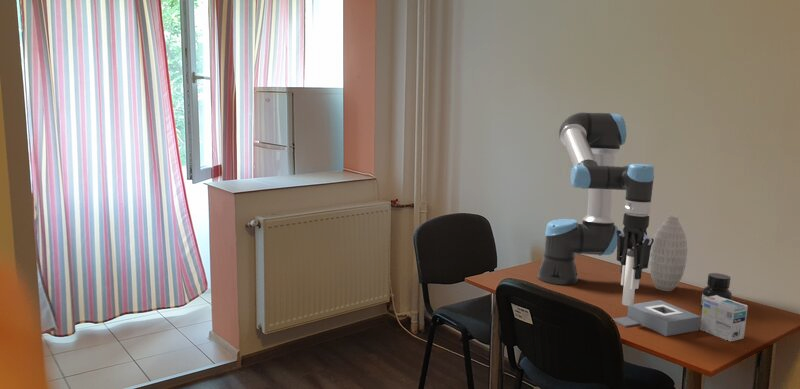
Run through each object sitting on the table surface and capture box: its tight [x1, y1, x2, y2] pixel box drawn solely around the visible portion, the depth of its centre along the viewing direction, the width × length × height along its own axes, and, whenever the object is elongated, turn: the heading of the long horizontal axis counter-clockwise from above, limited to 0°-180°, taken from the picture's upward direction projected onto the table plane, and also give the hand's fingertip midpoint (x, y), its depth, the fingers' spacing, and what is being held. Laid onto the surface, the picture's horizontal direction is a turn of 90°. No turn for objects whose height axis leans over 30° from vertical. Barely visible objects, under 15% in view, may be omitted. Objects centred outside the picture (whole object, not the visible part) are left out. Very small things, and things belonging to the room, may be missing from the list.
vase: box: [648, 214, 688, 292], centre depth 232 cm, size 13×13×28 cm
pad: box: [612, 316, 641, 328], centre depth 198 cm, size 6×6×1 cm
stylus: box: [621, 247, 636, 307], centre depth 196 cm, size 4×4×18 cm
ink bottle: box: [700, 272, 733, 308], centre depth 213 cm, size 10×9×12 cm
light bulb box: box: [699, 295, 749, 342], centre depth 190 cm, size 11×7×11 cm, turn 29°
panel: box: [626, 299, 702, 337], centre depth 198 cm, size 16×14×5 cm
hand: (629, 286), depth 196 cm, fingers closed on stylus, 3 cm apart
